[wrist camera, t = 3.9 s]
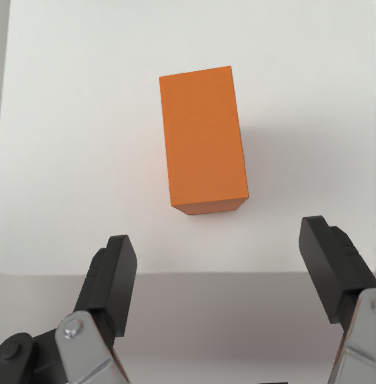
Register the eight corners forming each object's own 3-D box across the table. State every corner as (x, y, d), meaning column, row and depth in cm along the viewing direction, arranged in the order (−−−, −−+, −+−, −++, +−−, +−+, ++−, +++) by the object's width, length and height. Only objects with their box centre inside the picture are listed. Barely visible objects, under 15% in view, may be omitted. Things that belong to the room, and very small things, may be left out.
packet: (188, 215, 25) (171, 206, 15) (180, 133, 26) (158, 76, 16) (235, 210, 25) (249, 197, 15) (225, 127, 26) (231, 65, 16)
